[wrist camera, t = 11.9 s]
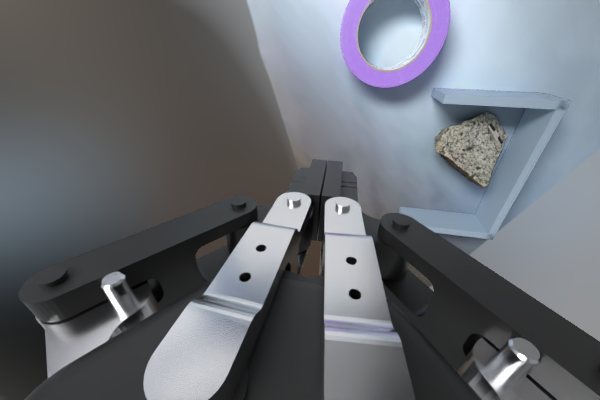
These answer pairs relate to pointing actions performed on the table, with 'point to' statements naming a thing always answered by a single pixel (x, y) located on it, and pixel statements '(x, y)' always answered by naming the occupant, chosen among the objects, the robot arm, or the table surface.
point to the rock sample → (473, 147)
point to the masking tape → (431, 40)
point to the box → (512, 167)
